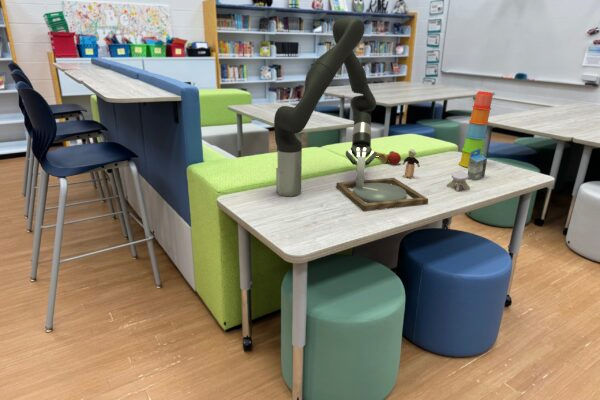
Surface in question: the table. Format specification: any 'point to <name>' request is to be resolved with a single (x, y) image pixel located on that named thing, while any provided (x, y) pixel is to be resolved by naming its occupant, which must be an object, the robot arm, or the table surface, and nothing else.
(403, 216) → the table surface
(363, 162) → the dial
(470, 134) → the stacking cups
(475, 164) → the label tape box
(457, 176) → the tree stump
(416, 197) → the dial frame
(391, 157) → the kendama
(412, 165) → the grandmother figurine
